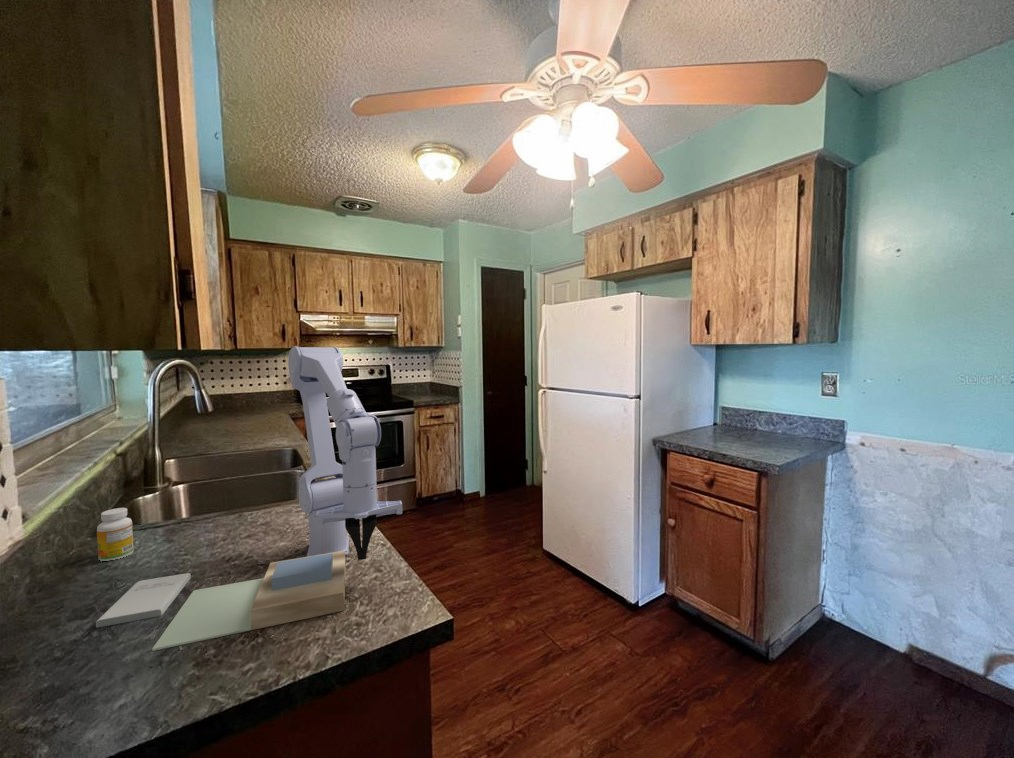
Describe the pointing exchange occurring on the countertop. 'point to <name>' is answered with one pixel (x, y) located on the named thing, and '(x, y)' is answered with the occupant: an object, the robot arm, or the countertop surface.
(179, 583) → the external hard drive
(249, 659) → the countertop surface
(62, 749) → the countertop surface
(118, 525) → the supplement bottle
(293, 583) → the blue flat block
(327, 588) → the board
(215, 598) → the mat
